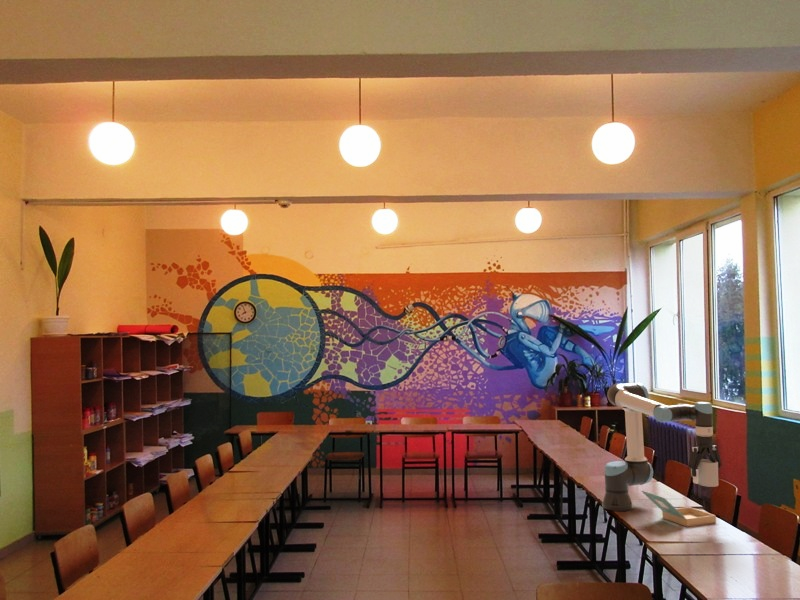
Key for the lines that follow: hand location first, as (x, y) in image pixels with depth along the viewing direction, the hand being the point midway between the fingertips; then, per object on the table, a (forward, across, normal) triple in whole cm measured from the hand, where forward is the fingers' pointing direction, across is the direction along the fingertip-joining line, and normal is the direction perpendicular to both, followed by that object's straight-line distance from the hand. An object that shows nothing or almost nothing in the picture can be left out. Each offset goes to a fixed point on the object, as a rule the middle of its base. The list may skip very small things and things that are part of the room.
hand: (705, 482), depth 321 cm
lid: (+12, -14, +12) cm, 22 cm away
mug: (+1, 0, 0) cm, 1 cm away
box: (+21, +1, +12) cm, 25 cm away
